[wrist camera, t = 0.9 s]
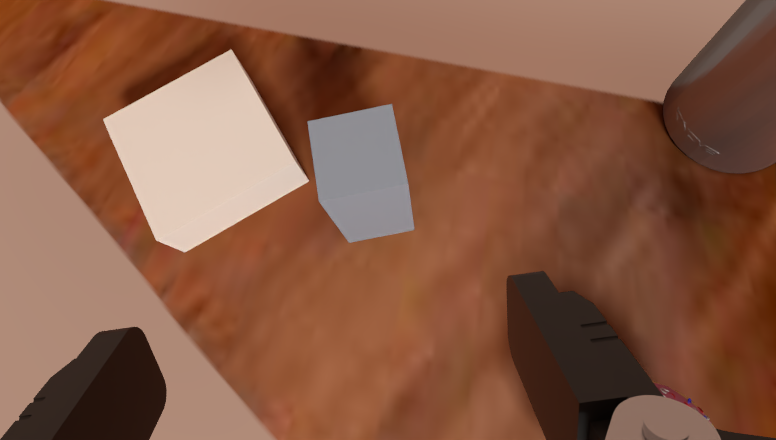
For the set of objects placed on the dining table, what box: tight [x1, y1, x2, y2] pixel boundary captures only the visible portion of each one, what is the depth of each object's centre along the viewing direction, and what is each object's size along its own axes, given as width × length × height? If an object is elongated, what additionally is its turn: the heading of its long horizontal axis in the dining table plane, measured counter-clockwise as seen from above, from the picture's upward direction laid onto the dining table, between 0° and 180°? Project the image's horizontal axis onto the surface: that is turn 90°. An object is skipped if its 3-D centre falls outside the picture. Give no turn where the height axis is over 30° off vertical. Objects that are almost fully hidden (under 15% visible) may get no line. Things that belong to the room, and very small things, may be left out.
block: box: [307, 104, 414, 243], centre depth 32 cm, size 5×5×10 cm
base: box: [103, 49, 309, 252], centre depth 37 cm, size 11×11×4 cm
